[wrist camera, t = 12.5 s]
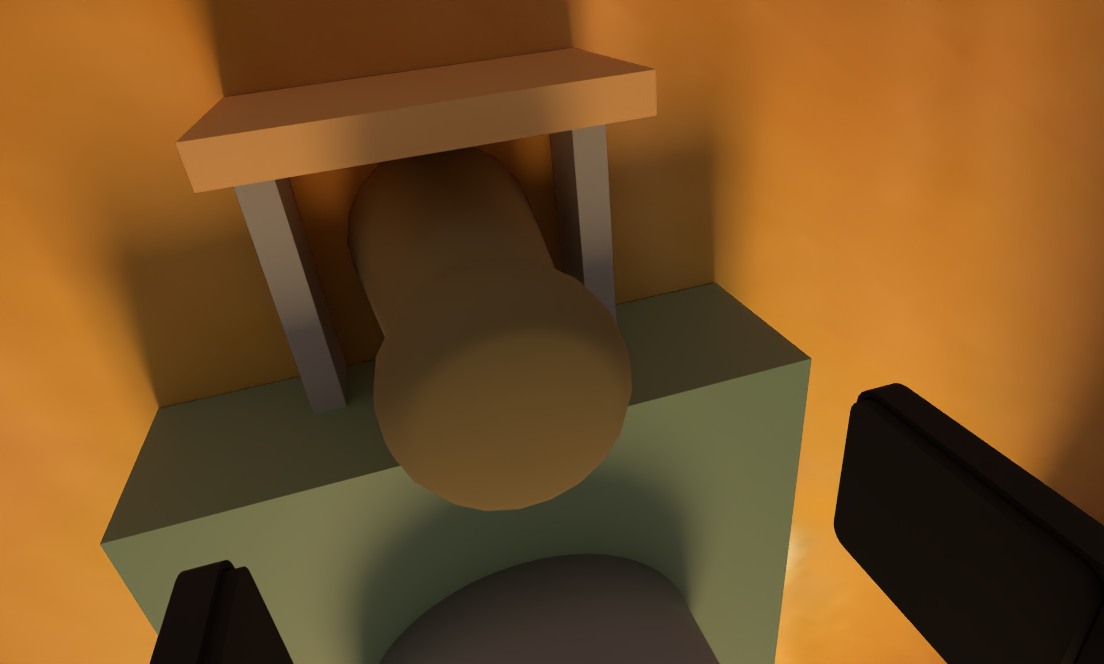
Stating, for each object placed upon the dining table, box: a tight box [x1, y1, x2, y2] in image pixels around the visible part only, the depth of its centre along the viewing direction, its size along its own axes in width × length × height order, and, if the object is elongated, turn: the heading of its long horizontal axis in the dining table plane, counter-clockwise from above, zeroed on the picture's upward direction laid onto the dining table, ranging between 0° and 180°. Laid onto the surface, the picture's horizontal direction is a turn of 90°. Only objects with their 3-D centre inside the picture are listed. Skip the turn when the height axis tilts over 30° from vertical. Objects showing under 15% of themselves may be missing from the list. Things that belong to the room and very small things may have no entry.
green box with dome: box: [100, 48, 811, 664], centre depth 21 cm, size 20×27×10 cm
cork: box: [347, 147, 632, 511], centre depth 16 cm, size 6×6×11 cm
